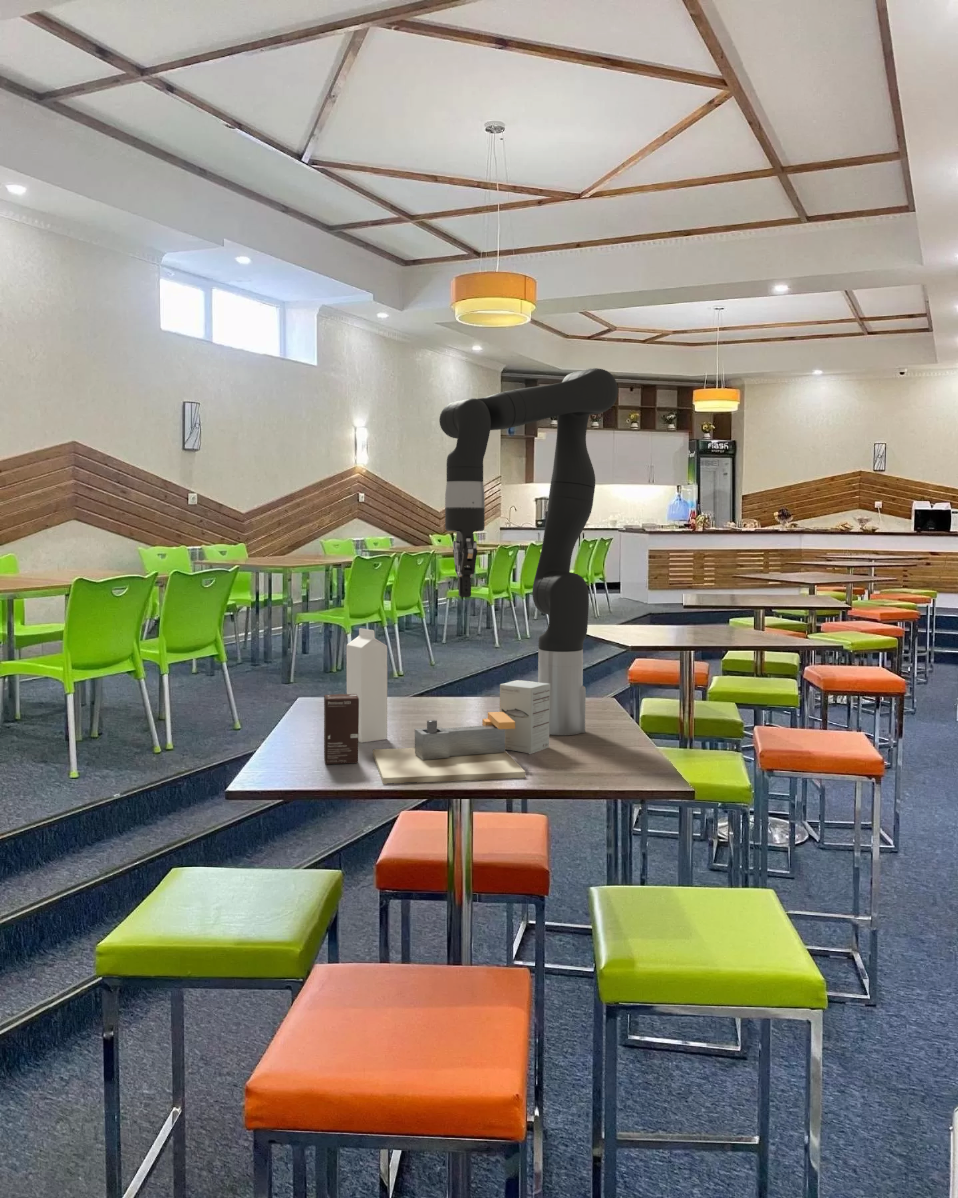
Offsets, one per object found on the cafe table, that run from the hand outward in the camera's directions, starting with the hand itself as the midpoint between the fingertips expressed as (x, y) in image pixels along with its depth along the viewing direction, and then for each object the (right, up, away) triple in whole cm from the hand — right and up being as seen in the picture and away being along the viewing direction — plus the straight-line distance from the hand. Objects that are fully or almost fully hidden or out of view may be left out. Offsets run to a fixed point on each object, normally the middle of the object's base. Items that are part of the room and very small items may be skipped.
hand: (464, 596), depth 183 cm
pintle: (-6, -30, -11) cm, 32 cm away
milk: (-20, -29, +8) cm, 36 cm away
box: (-22, -30, -11) cm, 39 cm away
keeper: (+6, -30, -8) cm, 31 cm away
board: (-3, -30, -14) cm, 33 cm away
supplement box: (+11, -29, 0) cm, 31 cm away
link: (-1, -29, -10) cm, 30 cm away
